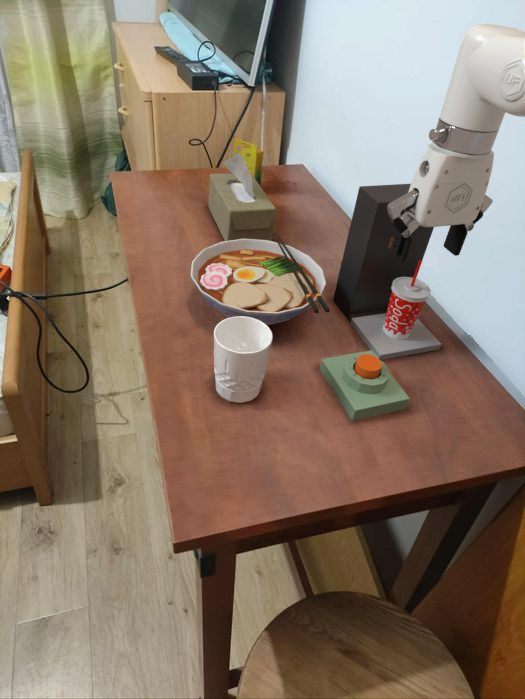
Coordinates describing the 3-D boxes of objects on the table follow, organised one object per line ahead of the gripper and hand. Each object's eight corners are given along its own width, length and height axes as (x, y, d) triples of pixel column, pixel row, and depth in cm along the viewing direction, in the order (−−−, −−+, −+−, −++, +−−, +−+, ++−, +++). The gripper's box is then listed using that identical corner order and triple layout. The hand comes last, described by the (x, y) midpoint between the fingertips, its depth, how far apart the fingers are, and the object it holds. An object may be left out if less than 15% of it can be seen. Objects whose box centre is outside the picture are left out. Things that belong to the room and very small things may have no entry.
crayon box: (260, 191, 128) (265, 143, 120) (253, 194, 126) (257, 146, 119) (238, 181, 131) (241, 134, 124) (230, 184, 129) (233, 137, 122)
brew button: (383, 377, 74) (386, 368, 73) (361, 381, 73) (364, 372, 72) (371, 361, 77) (374, 352, 75) (350, 365, 75) (352, 356, 74)
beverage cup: (370, 326, 87) (392, 255, 78) (394, 316, 90) (418, 246, 81) (397, 346, 84) (423, 274, 75) (421, 335, 87) (449, 264, 78)
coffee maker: (439, 349, 86) (490, 232, 72) (378, 360, 82) (419, 239, 68) (387, 293, 98) (422, 182, 84) (332, 300, 94) (359, 186, 80)
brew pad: (405, 409, 75) (413, 389, 72) (351, 421, 72) (358, 401, 69) (369, 360, 82) (375, 341, 80) (319, 369, 79) (323, 349, 77)
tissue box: (207, 207, 118) (210, 137, 108) (248, 205, 121) (254, 137, 111) (227, 247, 105) (232, 172, 95) (272, 245, 108) (281, 171, 97)
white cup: (275, 394, 74) (284, 341, 68) (229, 414, 70) (233, 360, 64) (245, 362, 79) (251, 310, 72) (201, 379, 75) (203, 325, 69)
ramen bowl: (180, 272, 96) (180, 233, 91) (294, 266, 102) (301, 229, 97) (202, 360, 78) (203, 318, 73) (339, 347, 84) (350, 307, 79)
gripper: (425, 149, 61) (388, 273, 72) (535, 146, 66) (485, 261, 77) (392, 129, 66) (362, 247, 77) (496, 127, 72) (455, 237, 83)
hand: (424, 254), depth 77 cm, fingers open, 9 cm apart
